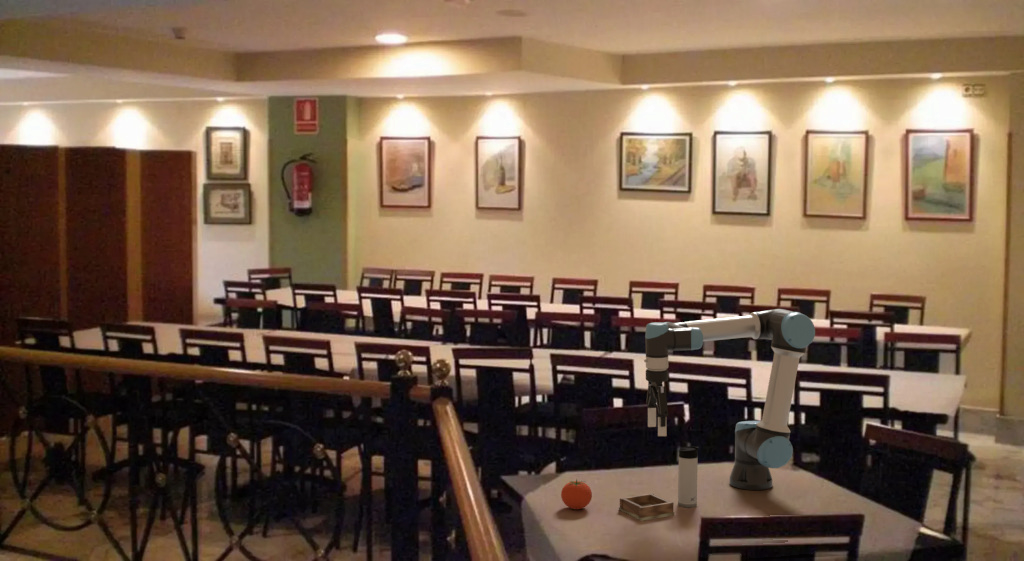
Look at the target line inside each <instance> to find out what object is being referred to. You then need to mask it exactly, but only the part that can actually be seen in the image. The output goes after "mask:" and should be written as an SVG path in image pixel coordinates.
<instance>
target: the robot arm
mask: <svg viewBox="0 0 1024 561" xmlns="http://www.w3.org/2000/svg"><path fill="white" fill-rule="evenodd" d="M645 327H646V328H645V336H644V338H645V359H644V360H643V361H644V363H645V368H646V370H645V380H646V381H647V383H648V385H647V393H646V400H645V404H646V405H647V427H648V428H655V427H657V437H667V431H668V430H667V426H668V425H667V417H668V416H669V415H670V413H669V407H668V406H669V405H668V400H667V387H666V385H665V386H664V385H663V383H664V382H667V381H668V380H669V370H668V368H669V352H672V351H694V350H700V349H701V348H702V347H703V344H704V342H711V341H721V340H722V341H723V340H731V339H741V338H743V339H744V338H752V339H753V340H770V341H771V345H770V348H771V350H772V351H773V357H772V358H773V359H772V363H771V364H772V365H771V369H770V375H769V376H770V377H769V381H768V386H767V391H766V396H765V402H764V407H763V411H762V412H763V413H762V417H761V418H762V419H761V420H745V421H739V422H737V423H736V424H735V430H734V464H733V466H732V469H731V471H730V476H729V483H728V484H729V485H730V486H732V487H733V488H734V487H735V488H737V489H740V490H747V491H748V490H749V491H763V490H768V489H771V488H773V477H772V474H771V471H770V469H779V468H782V467H784V466H785V465H787V464H788V462H790V460H791V458H792V456H793V452H794V448H793V445H792V442H791V441H790V435H791V430H790V428H789V427H788V423H789V422H788V421H789V417H790V411H791V407H792V402H793V401H792V400H793V396H794V395H793V394H794V390H795V385H796V378H797V375H798V373H797V372H798V368H799V363H800V358H801V357H802V356H804V355H806V352H807V351H806V350H807V347H809V345H810V344H812V343H813V341H814V339H815V336H816V326H815V325H814V322H813V321H812V320H811V318H810V317H809V316H807V315H806V314H803V313H801V312H799V311H792V310H788V309H784V308H774V309H768V310H762V311H754V312H751V313H749V315H742V316H733V317H721V318H711V319H710V318H709V319H703V320H702V319H699V320H689V321H684V322H683V321H682V322H681V321H680V322H671V321H665V322H650V323H647V324H646V325H645ZM657 412H658V414H657Z"/></svg>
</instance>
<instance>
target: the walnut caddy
mask: <svg viewBox="0 0 1024 561" xmlns="http://www.w3.org/2000/svg"><path fill="white" fill-rule="evenodd" d="M674 505H675V504H674V502H673V501H670V500H667V499H665V498H662V497H659V496H658V495H655V493H646V494H645V493H644V494H639V495H634V496H633V495H632V496H627V497H621V498H619V507H618V511H620V512H622V513H624V512H625V514H626V513H627V515H628V514H629V516H630V517H633V518H634V519H637V520H639V521H642V522H643V521H648V520H654V519H659V518H665V517H670V516H675V512H674V507H675V506H674Z"/></svg>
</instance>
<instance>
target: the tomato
mask: <svg viewBox="0 0 1024 561" xmlns="http://www.w3.org/2000/svg"><path fill="white" fill-rule="evenodd" d="M592 494H593V492H592V489H591V488H590V486H589V485H588V484H587V483H586V482H585V481H582V480H581V481H578V479H577V478H576V480H575V481H573V480H571V481H569V482H568V483H566V484H564V486H563V487H562V489H561V494H560V496H561V497H560V498H561V500H562V503H563V504H564V505H565V506H567V507H568V508H569V509H572V510H581V509H584V508H586V507H587V506H588V505H589V504H591V503H590V502H592V497H593V495H592Z"/></svg>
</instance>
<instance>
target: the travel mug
mask: <svg viewBox="0 0 1024 561" xmlns="http://www.w3.org/2000/svg"><path fill="white" fill-rule="evenodd" d="M699 447H700V446H691V445H689V446H683V447H680V448H679V449H678V472H677V473H678V475H677V476H678V478H677V480H678V481H677V482H678V484H677V485H678V486H677V488H678V489H677V505H678V506H680V507H681V508H686V509H687V508H688V509H689V508H695V507H697V506H698V501H697V500H698V459H699V458H698V457H699V456H698V451H699V450H700V448H699Z"/></svg>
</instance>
